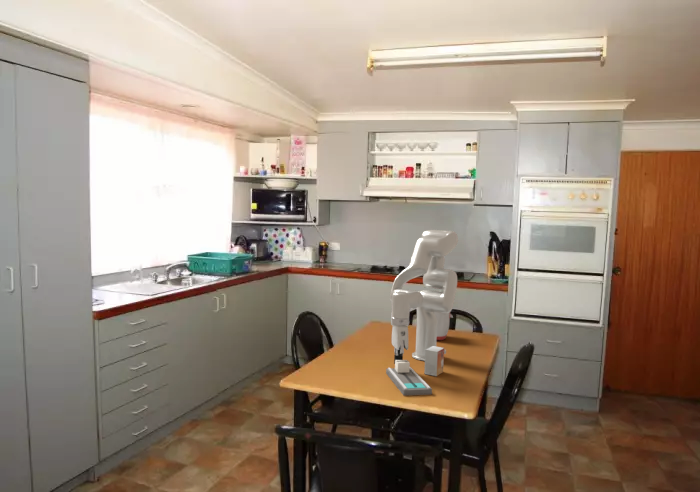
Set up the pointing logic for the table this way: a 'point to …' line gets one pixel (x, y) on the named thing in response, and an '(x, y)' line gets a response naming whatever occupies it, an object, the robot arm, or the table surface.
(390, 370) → the fader board
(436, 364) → the small box
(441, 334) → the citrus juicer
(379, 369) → the table surface
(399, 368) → the fader knob
